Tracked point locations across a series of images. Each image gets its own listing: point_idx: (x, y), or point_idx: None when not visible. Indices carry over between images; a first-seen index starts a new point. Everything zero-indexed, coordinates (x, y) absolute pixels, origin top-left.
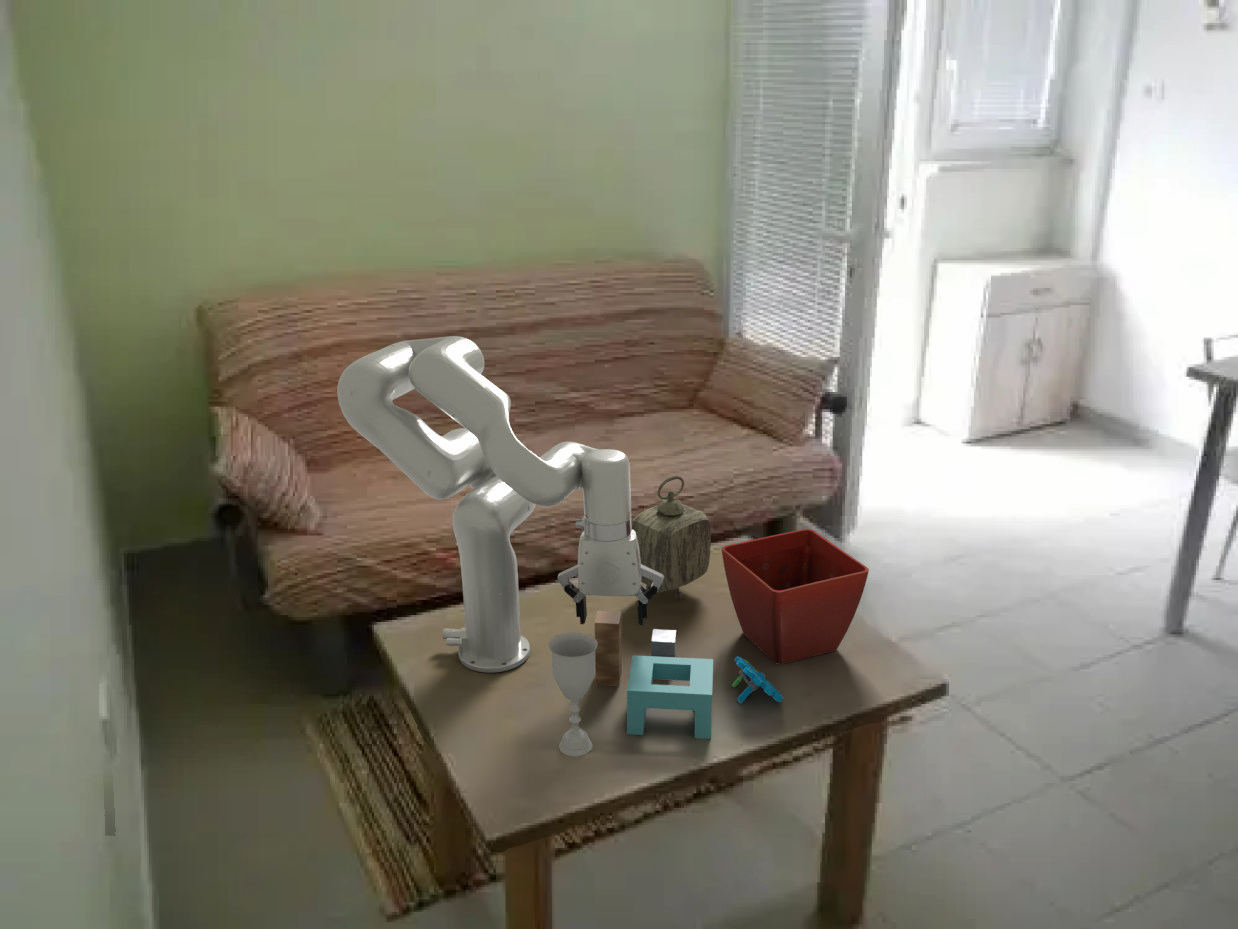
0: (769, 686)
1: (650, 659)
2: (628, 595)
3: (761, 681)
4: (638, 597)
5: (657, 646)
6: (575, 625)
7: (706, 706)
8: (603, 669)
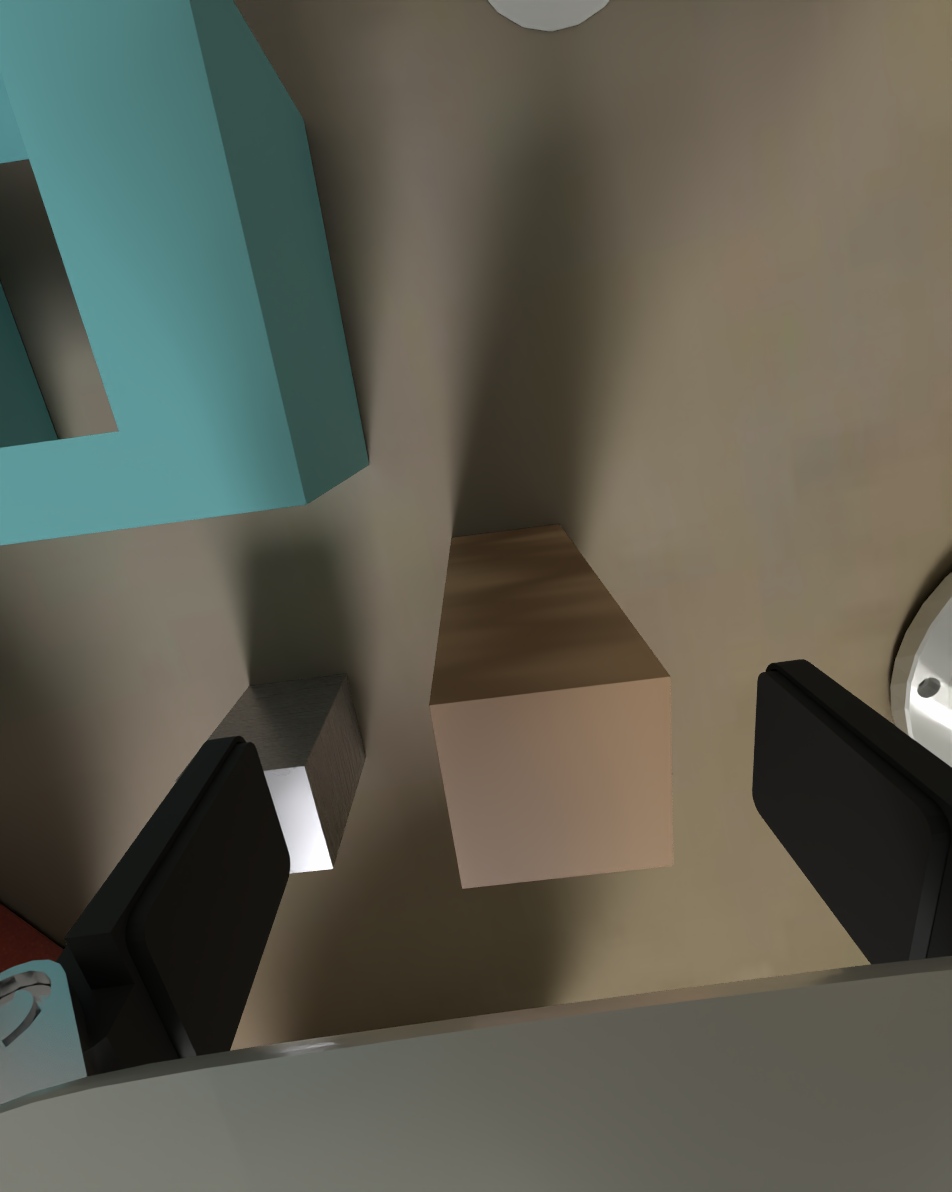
0: None
1: (158, 477)
2: (78, 1092)
3: None
4: (48, 1069)
5: (281, 751)
6: (717, 899)
7: None
8: (531, 549)
